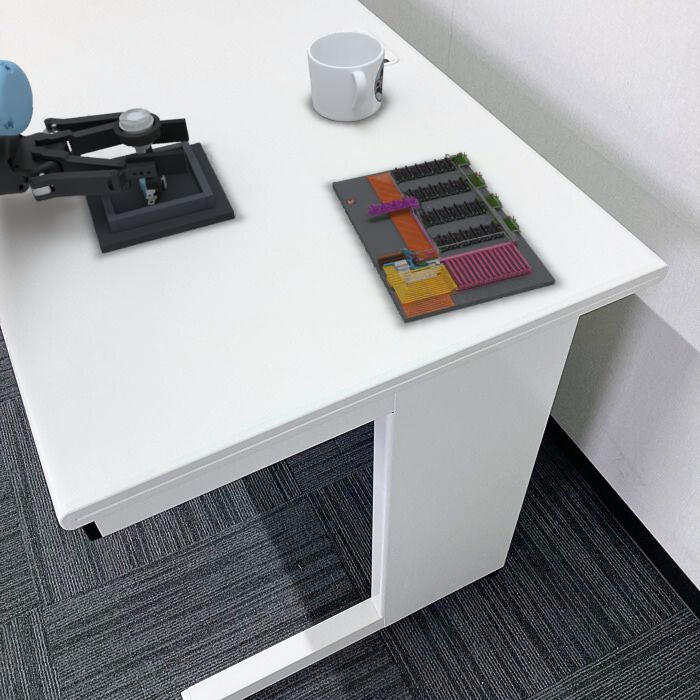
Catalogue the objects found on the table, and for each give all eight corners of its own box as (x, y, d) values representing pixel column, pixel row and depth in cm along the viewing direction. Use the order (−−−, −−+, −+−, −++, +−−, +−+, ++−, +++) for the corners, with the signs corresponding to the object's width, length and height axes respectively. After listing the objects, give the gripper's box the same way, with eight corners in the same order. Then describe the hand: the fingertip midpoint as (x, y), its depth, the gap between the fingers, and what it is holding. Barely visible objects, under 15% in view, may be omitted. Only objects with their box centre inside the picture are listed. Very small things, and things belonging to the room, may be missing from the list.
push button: (173, 206, 89) (154, 134, 82) (129, 210, 89) (106, 137, 82) (177, 174, 94) (160, 102, 86) (135, 177, 94) (114, 105, 86)
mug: (303, 90, 109) (299, 36, 102) (372, 79, 110) (372, 26, 104) (325, 140, 100) (322, 85, 94) (399, 127, 102) (401, 72, 96)
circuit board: (554, 283, 81) (559, 265, 79) (404, 322, 78) (405, 304, 75) (460, 158, 97) (462, 140, 95) (332, 186, 93) (331, 168, 91)
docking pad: (102, 253, 86) (95, 234, 84) (80, 177, 96) (74, 159, 93) (235, 218, 90) (231, 199, 87) (201, 148, 99) (197, 130, 97)
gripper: (12, 145, 95) (193, 129, 97) (-17, 240, 83) (191, 220, 84) (-11, 91, 89) (182, 75, 91) (-46, 185, 77) (178, 165, 79)
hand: (186, 145), depth 88 cm, fingers open, 6 cm apart
